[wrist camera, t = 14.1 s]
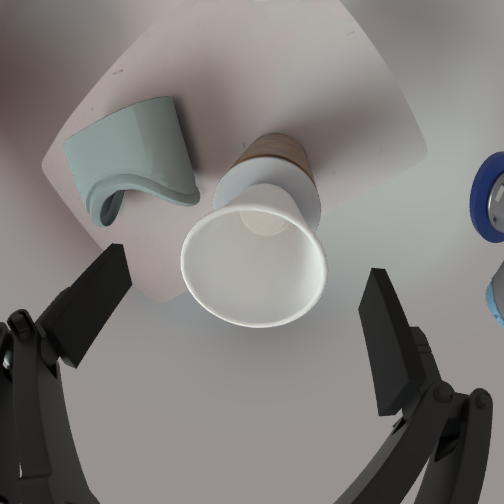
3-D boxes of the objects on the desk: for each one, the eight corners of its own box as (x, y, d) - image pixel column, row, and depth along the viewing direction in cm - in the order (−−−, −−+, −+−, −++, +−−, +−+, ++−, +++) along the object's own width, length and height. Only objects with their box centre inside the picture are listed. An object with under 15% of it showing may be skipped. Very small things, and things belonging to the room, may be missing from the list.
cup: (238, 263, 31) (216, 336, 22) (202, 182, 27) (154, 231, 17) (326, 241, 28) (340, 313, 19) (298, 149, 24) (304, 182, 15)
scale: (325, 159, 26) (327, 164, 24) (311, 253, 32) (312, 263, 30) (217, 150, 27) (211, 154, 25) (217, 243, 33) (213, 253, 31)
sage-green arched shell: (182, 95, 42) (149, 96, 31) (209, 192, 51) (187, 220, 40) (92, 135, 46) (50, 149, 36) (119, 214, 56) (86, 242, 45)
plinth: (310, 137, 43) (325, 159, 26) (304, 196, 49) (311, 253, 32) (245, 131, 44) (217, 150, 27) (243, 190, 50) (217, 243, 33)
